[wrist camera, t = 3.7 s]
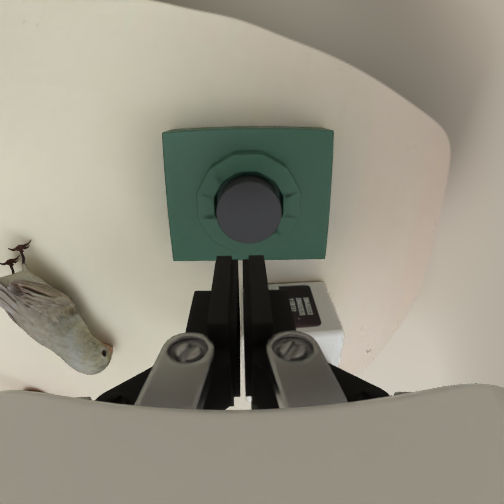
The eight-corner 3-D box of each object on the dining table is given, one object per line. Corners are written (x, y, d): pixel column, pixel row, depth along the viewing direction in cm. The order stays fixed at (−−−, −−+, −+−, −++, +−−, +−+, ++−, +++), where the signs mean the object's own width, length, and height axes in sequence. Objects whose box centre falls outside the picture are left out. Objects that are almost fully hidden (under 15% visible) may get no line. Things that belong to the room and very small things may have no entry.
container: (241, 283, 29) (239, 395, 18) (325, 279, 29) (366, 384, 18) (245, 346, 33) (246, 454, 21) (319, 342, 33) (345, 445, 21)
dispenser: (324, 127, 24) (342, 132, 19) (317, 243, 28) (331, 271, 23) (171, 129, 23) (154, 135, 19) (180, 245, 28) (167, 273, 23)
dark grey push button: (279, 174, 21) (282, 181, 19) (278, 231, 22) (280, 243, 20) (217, 175, 21) (214, 182, 19) (220, 232, 22) (217, 244, 20)
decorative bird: (101, 356, 34) (80, 403, 27) (8, 257, 28) (-31, 291, 21) (128, 339, 32) (108, 389, 25) (28, 229, 27) (-16, 263, 20)
